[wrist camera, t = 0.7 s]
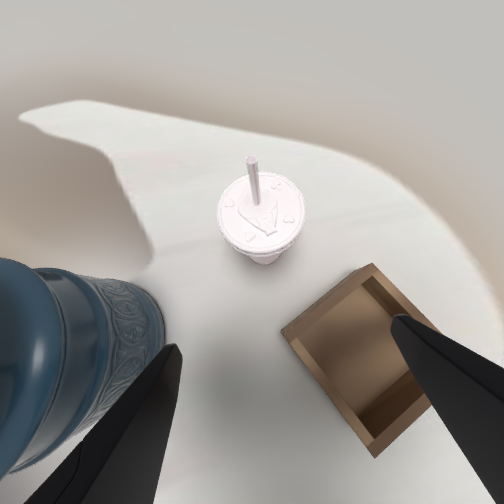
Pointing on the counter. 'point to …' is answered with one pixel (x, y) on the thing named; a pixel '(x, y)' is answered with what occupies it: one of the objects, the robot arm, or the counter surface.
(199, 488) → the counter surface
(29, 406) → the canister
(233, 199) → the smoothie
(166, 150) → the counter surface
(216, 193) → the counter surface
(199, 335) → the counter surface
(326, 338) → the wooden box
